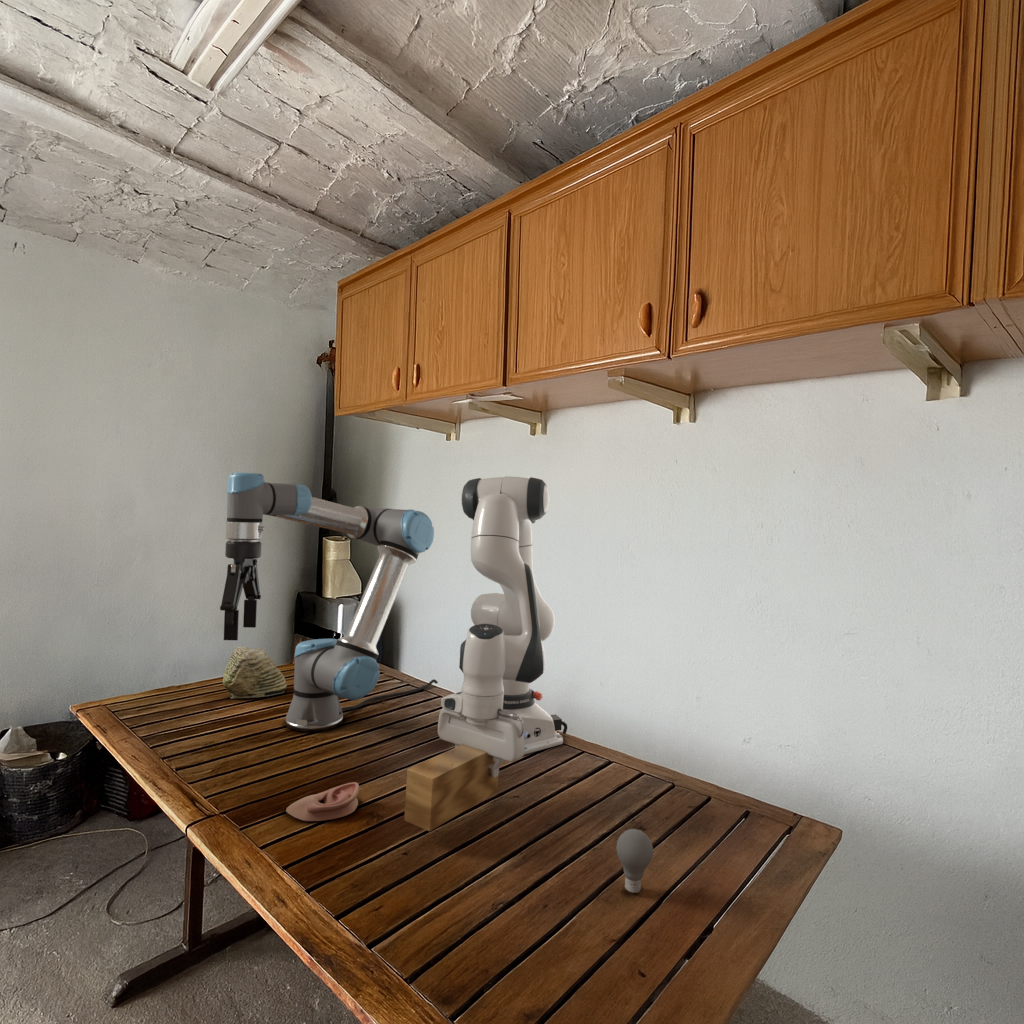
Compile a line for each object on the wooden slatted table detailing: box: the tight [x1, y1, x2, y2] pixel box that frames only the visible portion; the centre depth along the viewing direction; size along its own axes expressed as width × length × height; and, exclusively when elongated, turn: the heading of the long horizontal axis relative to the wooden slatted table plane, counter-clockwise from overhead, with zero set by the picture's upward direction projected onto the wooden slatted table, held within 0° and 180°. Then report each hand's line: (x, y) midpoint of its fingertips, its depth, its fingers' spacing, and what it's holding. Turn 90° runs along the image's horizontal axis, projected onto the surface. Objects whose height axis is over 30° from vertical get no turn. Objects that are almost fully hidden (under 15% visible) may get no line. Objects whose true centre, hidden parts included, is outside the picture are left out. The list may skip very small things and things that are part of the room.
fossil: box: [222, 646, 288, 699], centre depth 198 cm, size 9×18×15 cm, turn 132°
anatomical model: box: [285, 781, 360, 822], centre depth 129 cm, size 13×4×12 cm
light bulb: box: [615, 828, 654, 894], centre depth 106 cm, size 6×6×10 cm
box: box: [403, 744, 500, 832], centre depth 125 cm, size 21×6×10 cm, turn 146°
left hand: (240, 633), depth 144 cm, fingers open, 13 cm apart
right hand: (478, 770), depth 131 cm, fingers closed on box, 6 cm apart
